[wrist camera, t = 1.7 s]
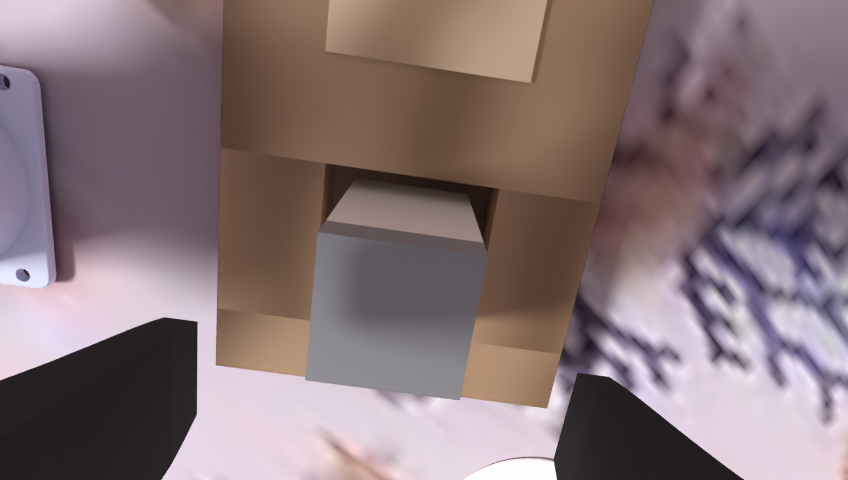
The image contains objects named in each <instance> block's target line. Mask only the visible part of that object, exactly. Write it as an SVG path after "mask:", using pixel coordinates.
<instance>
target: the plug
mask: <svg viewBox="0 0 848 480" xmlns="http://www.w3.org/2000/svg"><path fill="white" fill-rule="evenodd" d="M487 259H488V254H487V251H486V248H485V245H484V242H483V239H482V236H481V233H480V230H479V227H478V224H477V221H476V218H475V215H474V212H473V209H472V206H471V203H470V200H469V197H468V194H463V193H456V192H449V191H442V190H436V189H429V188H422V187H415V186H408V185H401V184H394V183H388V182H381V181H374V180H367V179H360V178H355V180H354V181H353V183H352V184H351V186H350V187H349V188H348V190H347V191H346V193H345V194H344V195H343V197H342V198H341V200H340V201H339V203H338V204H337V205H336V207H335V208H334V210H333V211H332V213H331V214H330V215H329V217H328V218H327V220H326V221H325V223H324V224H323V225H322V227H321V228H320V230H319V231H318V235H317V247H316V259H315V270H314V282H313V294H312V306H311V317H310V329H309V341H308V352H307V364H306V376H305V380H308V381H316V382H323V383H331V384H339V385H346V386H354V387H362V388H369V389H377V390H385V391H393V392H400V393H408V394H416V395H423V396H431V397H439V398H446V399H454V400H460V396H461V391H462V386H463V381H464V376H465V371H466V366H467V360H468V355H469V350H470V345H471V340H472V335H473V330H474V325H475V320H476V315H477V310H478V305H479V300H480V295H481V290H482V285H483V280H484V275H485V270H486V264H487Z"/></svg>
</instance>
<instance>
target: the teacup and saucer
mask: <svg viewBox="0 0 848 480" xmlns="http://www.w3.org/2000/svg"><path fill="white" fill-rule="evenodd" d="M464 480H557V478H556V472H555V466H554V461H553V460H548V459H540V458H518V459H511V460H506V461H501V462H498V463H495V464H492V465H489V466H487V467H484V468H482V469H480V470H478V471H476V472H475V473H473V474H471V475H470V476H468V477H467V478H466V479H464Z"/></svg>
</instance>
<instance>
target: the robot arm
mask: <svg viewBox="0 0 848 480" xmlns="http://www.w3.org/2000/svg"><path fill="white" fill-rule="evenodd" d="M5 76H6V77H7V78H8V79H9V81H10V88H9V89H8V88H7V87H6V86H5V84H4V81H3V80H4V77H5ZM24 269H25V270H26V271H28V272H29V274H30V277H28V276H27V275H26V274H25V273H24ZM55 280H56V265H55V253H54V241H53V229H52V218H51V206H50V194H49V183H48V171H47V159H46V147H45V136H44V124H43V112H42V100H41V89H40V84H39V80H38V79H37V77H36V76H35V75H34V74H33V73H32V72H30V71H28V70H25V69H21V68H14V67H7V66H1V65H0V284H8V285H15V286H23V287H30V288H38V289H41V288H45V287H47V286H49V285H51V284H53V283H54V282H55ZM196 415H197V322H195V321H188V320H180V319H173V318H165V317H164V318H161V319H157V320H154V321H151V322H148V323H146V324H143V325H140V326H138V327H135V328H132V329H130V330H127V331H125V332H122V333H120V334H118V335H115V336H113V337H110V338H108V339H105V340H103V341H100V342H98V343H96V344H93V345H91V346H88V347H86V348H83V349H81V350H78V351H76V352H73V353H71V354H68V355H66V356H64V357H61V358H59V359H56V360H54V361H51V362H49V363H46V364H43V365H41V366H38V367H35V368H33V369H30V370H27V371H25V372H22V373H19V374H17V375H14V376H11V377H8V378H6V379H3V380H0V480H161V479H162V478H163V476H164V475H165V473H166V472H167V470H168V469H169V467H170V466H171V464H172V462H173V460H174V458H175V457H176V455H177V453H178V451H179V449H180V447H181V445H182V443H183V441H184V439H185V437H186V435H187V433H188V431H189V429H190V427H191V425H192V423H193V421H194V419H195V417H196ZM554 466H555V472H556V478H557V480H744V479H742V478H741V477H739V476H738V475H737V474H735V473H734V472H732V471H731V470H730V469H728V468H727V467H726V466H724V465H723V464H722V463H720V462H719V461H718V460H716V459H715V458H714V457H712V456H711V455H710V454H709V453H707V452H706V451H705V450H703V449H702V448H701V447H699V446H698V445H697V444H696V443H694V442H693V441H692V440H691V439H689V438H688V437H687V436H685V435H684V434H683V433H682V432H680V431H679V430H678V429H677V428H675V427H674V426H673V425H672V424H670V423H669V422H668V421H667V420H665V419H664V418H663V417H662V416H660V415H659V414H658V413H657V412H655V411H654V410H653V409H652V408H650V407H649V406H648V405H647V404H645V403H644V402H643V401H641V400H640V399H639V398H638V397H636V396H635V395H634V394H632V393H631V392H630V391H629V390H627V389H626V388H625V387H623V386H622V385H620V384H619V383H618V382H616V381H614V380H613V379H611V378H610V377H605V376H598V375H590V374H583V373H577V377H576V381H575V384H574V388H573V391H572V395H571V399H570V402H569V406H568V409H567V413H566V417H565V420H564V424H563V428H562V431H561V435H560V438H559V442H558V446H557V449H556V453H555V456H554Z"/></svg>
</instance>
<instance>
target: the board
mask: <svg viewBox="0 0 848 480" xmlns="http://www.w3.org/2000/svg"><path fill="white" fill-rule="evenodd" d="M653 2H654V0H224V10H223V56H222V102H221V149H220V195H219V242H218V288H217V335H216V365H219V366H226V367H234V368H242V369H249V370H257V371H265V372H272V373H280V374H288V375H295V376H303V377H305V376H306V364H307V352H308V341H309V329H310V317H311V306H312V294H313V282H314V270H315V259H316V247H317V235H318V231H319V230H320V228H321V227H322V225H323V224H324V223H325V221H326V220H327V218H328V217H329V215H330V214H331V213H332V211H333V210H334V208H335V207H336V205H337V204H338V203H339V201H340V200H341V198H342V197H343V195H344V194H345V193H346V191H347V190H348V188H349V187H350V186H351V184H352V183H353V181H354V180H355V178H360V179H367V180H374V181H381V182H388V183H394V184H401V185H408V186H415V187H422V188H429V189H436V190H442V191H449V192H456V193H463V194H468V197H469V200H470V203H471V206H472V209H473V212H474V215H475V218H476V221H477V224H478V227H479V230H480V233H481V236H482V239H483V242H484V245H485V248H486V251H487V254H488V259H487V264H486V270H485V275H484V280H483V285H482V290H481V295H480V300H479V305H478V310H477V315H476V320H475V325H474V330H473V335H472V340H471V345H470V350H469V355H468V360H467V366H466V371H465V376H464V381H463V386H462V391H461V396H460V397H464V398H472V399H480V400H487V401H495V402H503V403H510V404H518V405H526V406H533V407H541V408H547V406H548V402H549V398H550V395H551V391H552V387H553V383H554V379H555V375H556V372H557V368H558V364H559V360H560V356H561V353H562V349H563V345H564V341H565V337H566V334H567V330H568V326H569V322H570V318H571V314H572V311H573V307H574V303H575V299H576V295H577V292H578V288H579V284H580V280H581V276H582V273H583V269H584V265H585V261H586V257H587V254H588V250H589V246H590V242H591V238H592V234H593V231H594V227H595V223H596V219H597V215H598V212H599V208H600V204H601V200H602V196H603V193H604V189H605V185H606V181H607V177H608V173H609V170H610V166H611V162H612V158H613V154H614V151H615V147H616V143H617V139H618V135H619V132H620V128H621V124H622V120H623V116H624V112H625V109H626V105H627V101H628V97H629V93H630V90H631V86H632V82H633V78H634V74H635V71H636V67H637V63H638V59H639V55H640V52H641V48H642V44H643V40H644V36H645V32H646V29H647V25H648V21H649V17H650V13H651V10H652V6H653Z"/></svg>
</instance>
